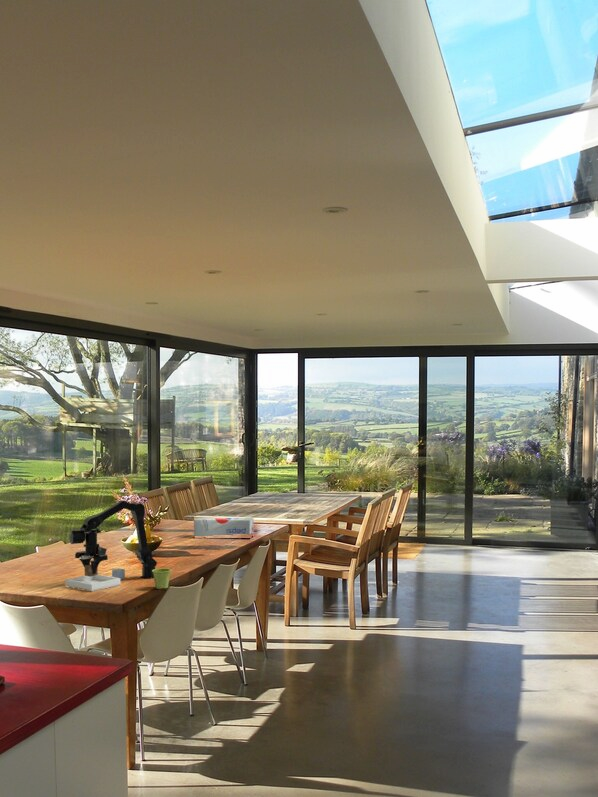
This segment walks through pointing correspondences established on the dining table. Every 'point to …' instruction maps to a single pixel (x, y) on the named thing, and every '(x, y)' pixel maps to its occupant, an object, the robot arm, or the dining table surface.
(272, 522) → the dining table surface
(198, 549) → the dining table surface
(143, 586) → the dining table surface
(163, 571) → the plant pot
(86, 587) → the grey tray
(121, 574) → the slate block
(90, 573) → the walnut block
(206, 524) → the soda pack
